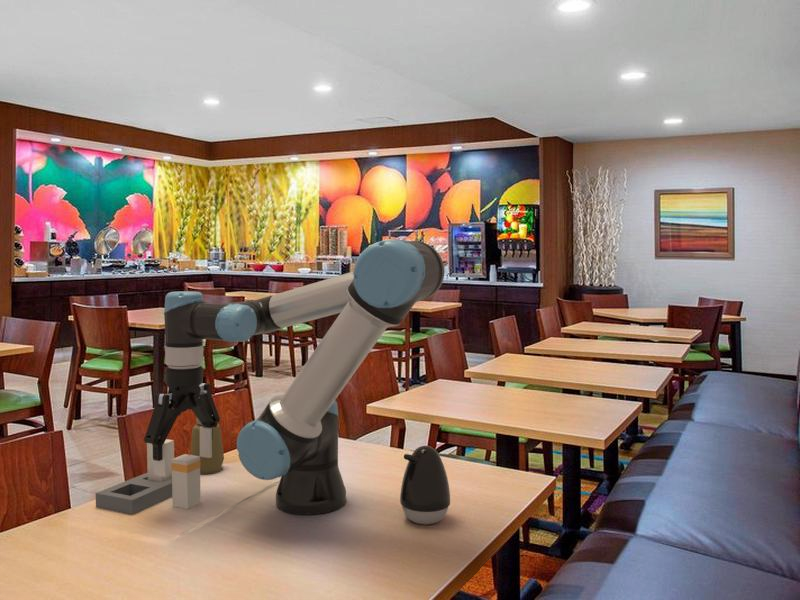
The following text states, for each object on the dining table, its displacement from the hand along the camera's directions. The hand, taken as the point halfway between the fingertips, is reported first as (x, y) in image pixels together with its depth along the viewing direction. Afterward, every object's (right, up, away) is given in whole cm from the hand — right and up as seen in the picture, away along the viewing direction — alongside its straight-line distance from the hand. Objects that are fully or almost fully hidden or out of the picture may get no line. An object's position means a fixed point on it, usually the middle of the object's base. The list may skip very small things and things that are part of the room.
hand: (184, 465), depth 141 cm
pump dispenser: (+50, -10, -5) cm, 52 cm away
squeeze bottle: (-2, -8, +23) cm, 25 cm away
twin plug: (-8, -8, +9) cm, 14 cm away
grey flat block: (-10, -9, +5) cm, 14 cm away
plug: (0, -9, 0) cm, 9 cm away
